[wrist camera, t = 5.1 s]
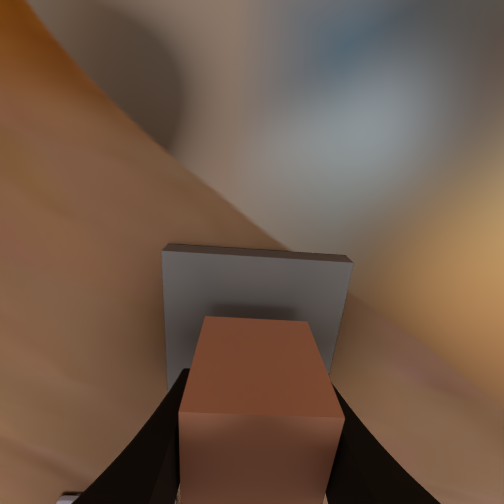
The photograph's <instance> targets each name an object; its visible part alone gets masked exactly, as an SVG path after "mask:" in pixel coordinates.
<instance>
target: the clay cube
mask: <svg viewBox="0 0 504 504" xmlns="http://www.w3.org/2000/svg"><path fill="white" fill-rule="evenodd" d="M178 413H179V452H180V492H181V504H322V503H323V499H324V496H325V492H326V488H327V484H328V481H329V477H330V473H331V469H332V466H333V462H334V458H335V454H336V451H337V447H338V443H339V439H340V435H341V432H342V428H343V424H344V420H345V417H344V414H343V411H342V409H341V406H340V404H339V401H338V399H337V396H336V394H335V391H334V388H333V386H332V383H331V381H330V378H329V376H328V373H327V370H326V368H325V365H324V363H323V360H322V358H321V355H320V353H319V350H318V347H317V345H316V342H315V340H314V337H313V335H312V332H311V330H310V327H309V324H308V322H307V321H288V320H270V319H251V318H232V317H213V316H205V318H204V321H203V325H202V329H201V332H200V336H199V340H198V343H197V347H196V350H195V354H194V358H193V361H192V365H191V369H190V372H189V376H188V379H187V383H186V387H185V390H184V394H183V398H182V401H181V405H180V408H179V412H178Z"/></svg>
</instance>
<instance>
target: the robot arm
mask: <svg viewBox="0 0 504 504" xmlns="http://www.w3.org/2000/svg"><path fill="white" fill-rule="evenodd" d="M190 369H191V368H184V369H183V370H182V371H181V373H180V374H179V376H178V378H177V380H176V381H175V383H174V384H173V386H172V388H171V389H170V391H169V392H168V394H167V395H166V397H165V398H164V399H163V401H162V402H161V404H160V405H159V406H158V408H157V409H156V411H155V412H154V413H153V415H152V416H151V417H150V419H149V420H148V421H147V422H146V424H145V425H144V426H143V427H142V429H141V430H140V431H139V433H138V434H137V435H136V436H135V437H134V439H133V440H132V441H131V442H130V443H129V445H128V446H127V447H126V448H125V449H124V450H123V451H122V452H121V454H120V455H119V456H118V457H117V458H116V459H115V460H114V461H113V462H112V463H111V465H110V466H109V467H108V468H107V469H106V470H105V471H104V472H103V473H102V474H101V475H100V476H99V477H98V478H97V479H96V480H95V481H94V482H93V483H92V484H91V485H90V486H89V487H88V488H87V489H86V490H85V491H84V492H83V493H82V494H81V495H80V496H72V495H64V496H61V497H60V498H59V499H58V501H57V503H56V504H176V496H177V492H178V488H179V484H180V452H179V413H178V412H179V408H180V405H181V401H182V398H183V394H184V390H185V387H186V383H187V379H188V376H189V372H190ZM331 383H332V382H331ZM332 386H333V388H334V391H335V394H336V396H337V399H338V401H339V404H340V406H341V409H342V411H343V414H344V417H345V420H344V424H343V428H342V432H341V435H340V439H339V443H338V447H337V451H336V454H335V458H334V462H333V466H332V469H331V473H330V477H329V481H328V484H327V488H326V492H325V493H326V496H327V501H328V504H440V503H439V502H438V501H437V500H436V499H435V498H434V497H433V496H432V495H431V494H430V493H428V492H427V491H426V490H425V489H424V488H423V487H422V486H421V485H420V484H419V483H418V482H417V481H415V480H414V479H413V478H412V477H411V476H410V475H409V474H408V473H407V472H406V471H405V470H404V469H403V468H402V467H401V466H400V465H399V464H398V462H397V461H396V460H395V459H394V458H393V457H392V456H391V455H390V454H389V453H388V452H387V451H386V450H385V449H384V448H383V446H382V445H381V444H380V443H379V442H378V441H377V440H376V438H375V437H374V436H373V435H372V434H371V433H370V432H369V430H368V429H367V428H366V427H365V426H364V424H363V423H362V422H361V421H360V419H359V418H358V417H357V416H356V414H355V413H354V412H353V411H352V409H351V408H350V407H349V405H348V404H347V403H346V402H345V400H344V399H343V397H342V396H341V395H340V393H339V392H338V391H337V389H336V388H335V387H334V385H333V384H332Z"/></svg>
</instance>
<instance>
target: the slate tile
mask: <svg viewBox="0 0 504 504" xmlns="http://www.w3.org/2000/svg"><path fill="white" fill-rule="evenodd" d="M161 253H162V276H163V298H164V320H165V343H166V365H167V387H168V392H169V391H170V389H171V388H172V386H173V384H174V383H175V381H176V380H177V378H178V376H179V374H180V373H181V371H182V370H183V369H184V368H191V365H192V361H193V358H194V354H195V350H196V347H197V343H198V340H199V336H200V332H201V329H202V325H203V321H204V318H205V316H213V317H232V318H251V319H270V320H288V321H307V322H308V324H309V327H310V330H311V332H312V335H313V337H314V340H315V342H316V345H317V347H318V350H319V353H320V355H321V358H322V360H323V363H324V365H325V368H326V370H327V373H328V376H329V372H330V368H331V363H332V359H333V354H334V350H335V345H336V341H337V336H338V332H339V327H340V323H341V318H342V313H343V309H344V304H345V300H346V295H347V291H348V286H349V282H350V277H351V272H352V268H353V262H352V261H351V260H350V259H349V258H348V257H347V256H346V255H335V254H319V253H304V252H289V251H273V250H258V249H242V248H227V247H211V246H195V245H180V244H168V245H167V246H166V247H165V248H164V249H163V250H162V251H161Z"/></svg>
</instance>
